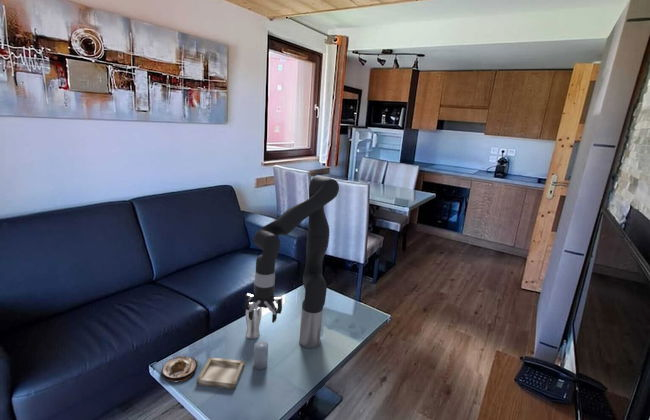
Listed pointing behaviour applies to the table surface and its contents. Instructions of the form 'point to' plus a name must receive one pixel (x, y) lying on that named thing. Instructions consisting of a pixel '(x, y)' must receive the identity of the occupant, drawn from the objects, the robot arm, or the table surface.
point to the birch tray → (220, 373)
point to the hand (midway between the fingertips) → (262, 320)
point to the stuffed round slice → (179, 368)
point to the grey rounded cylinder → (260, 355)
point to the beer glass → (253, 323)
